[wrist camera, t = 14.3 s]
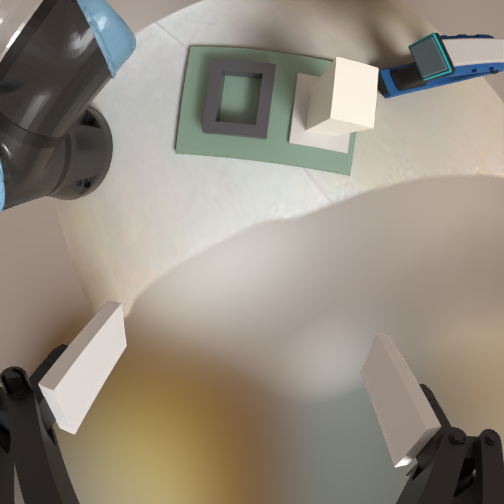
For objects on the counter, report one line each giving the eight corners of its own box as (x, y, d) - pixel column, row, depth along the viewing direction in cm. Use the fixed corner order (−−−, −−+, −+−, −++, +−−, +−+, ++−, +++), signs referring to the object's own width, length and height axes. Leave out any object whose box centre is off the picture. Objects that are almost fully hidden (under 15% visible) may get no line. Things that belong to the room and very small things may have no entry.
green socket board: (177, 153, 38) (169, 153, 34) (192, 48, 33) (185, 39, 29) (347, 175, 39) (356, 177, 35) (359, 70, 33) (369, 63, 30)
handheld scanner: (357, 74, 34) (427, 31, 15) (437, 59, 31) (517, 33, 13) (370, 103, 35) (448, 78, 16) (447, 84, 32) (532, 70, 14)
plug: (305, 130, 35) (330, 118, 22) (310, 88, 33) (336, 56, 20) (334, 136, 35) (373, 128, 22) (339, 94, 33) (378, 68, 20)
